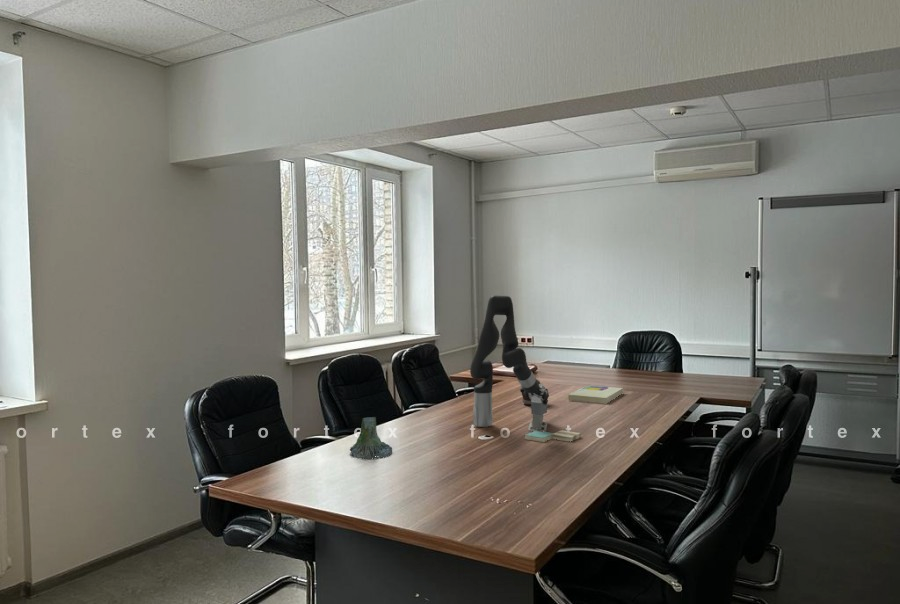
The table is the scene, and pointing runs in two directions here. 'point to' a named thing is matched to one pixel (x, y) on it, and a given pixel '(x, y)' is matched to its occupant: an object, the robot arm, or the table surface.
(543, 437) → the stand
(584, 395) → the puzzle box
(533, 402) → the grey rectangular block
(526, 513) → the table surface
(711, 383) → the table surface
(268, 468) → the table surface
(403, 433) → the table surface
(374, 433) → the tree stump
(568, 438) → the stand
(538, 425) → the network device
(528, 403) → the flowerpot
